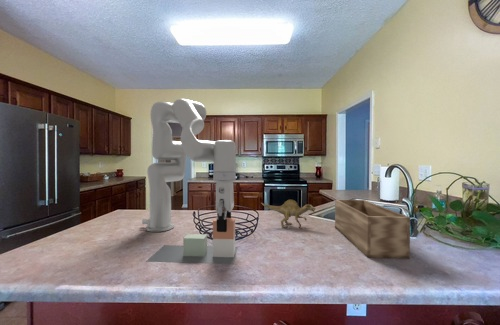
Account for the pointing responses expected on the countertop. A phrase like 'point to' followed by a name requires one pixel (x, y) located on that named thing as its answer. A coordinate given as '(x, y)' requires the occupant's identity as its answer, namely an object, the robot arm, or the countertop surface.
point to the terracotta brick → (229, 233)
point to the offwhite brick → (223, 247)
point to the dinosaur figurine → (290, 211)
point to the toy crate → (373, 229)
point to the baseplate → (176, 255)
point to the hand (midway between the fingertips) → (224, 226)
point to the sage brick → (195, 245)
